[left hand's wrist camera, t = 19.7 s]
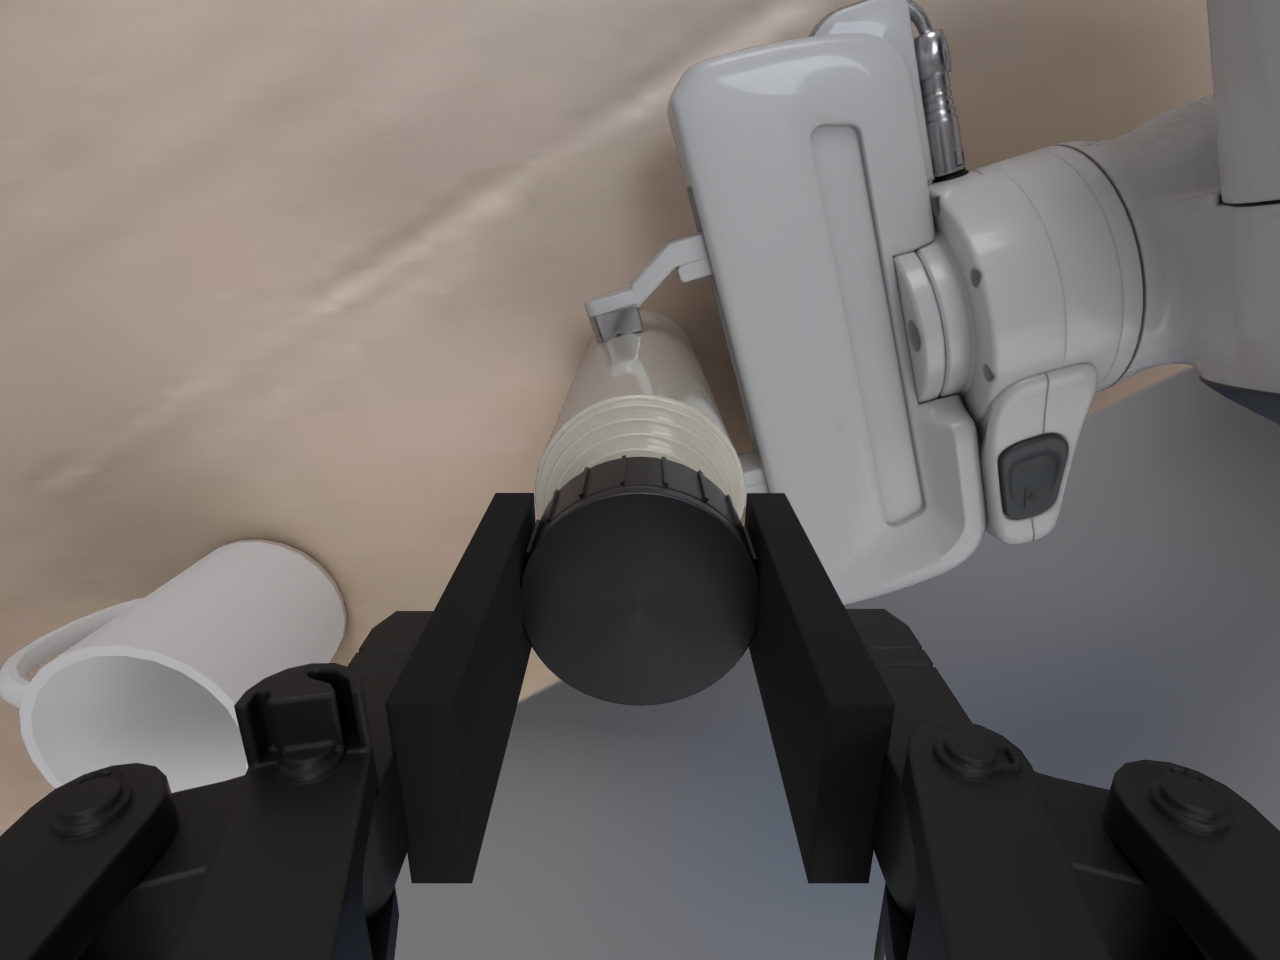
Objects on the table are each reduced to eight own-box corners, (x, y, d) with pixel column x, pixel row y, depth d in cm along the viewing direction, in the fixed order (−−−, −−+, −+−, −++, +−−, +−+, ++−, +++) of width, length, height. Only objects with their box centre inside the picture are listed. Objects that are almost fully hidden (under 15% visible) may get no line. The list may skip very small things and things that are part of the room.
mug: (374, 561, 36) (277, 687, 26) (337, 698, 39) (237, 857, 29) (153, 491, 35) (-34, 596, 25) (132, 638, 38) (-43, 783, 28)
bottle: (566, 334, 32) (451, 516, 13) (672, 291, 32) (725, 412, 12) (609, 436, 34) (568, 735, 14) (711, 397, 33) (814, 654, 14)
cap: (737, 437, 14) (752, 472, 12) (757, 635, 15) (773, 694, 13) (512, 468, 14) (493, 506, 12) (554, 660, 15) (542, 721, 13)
